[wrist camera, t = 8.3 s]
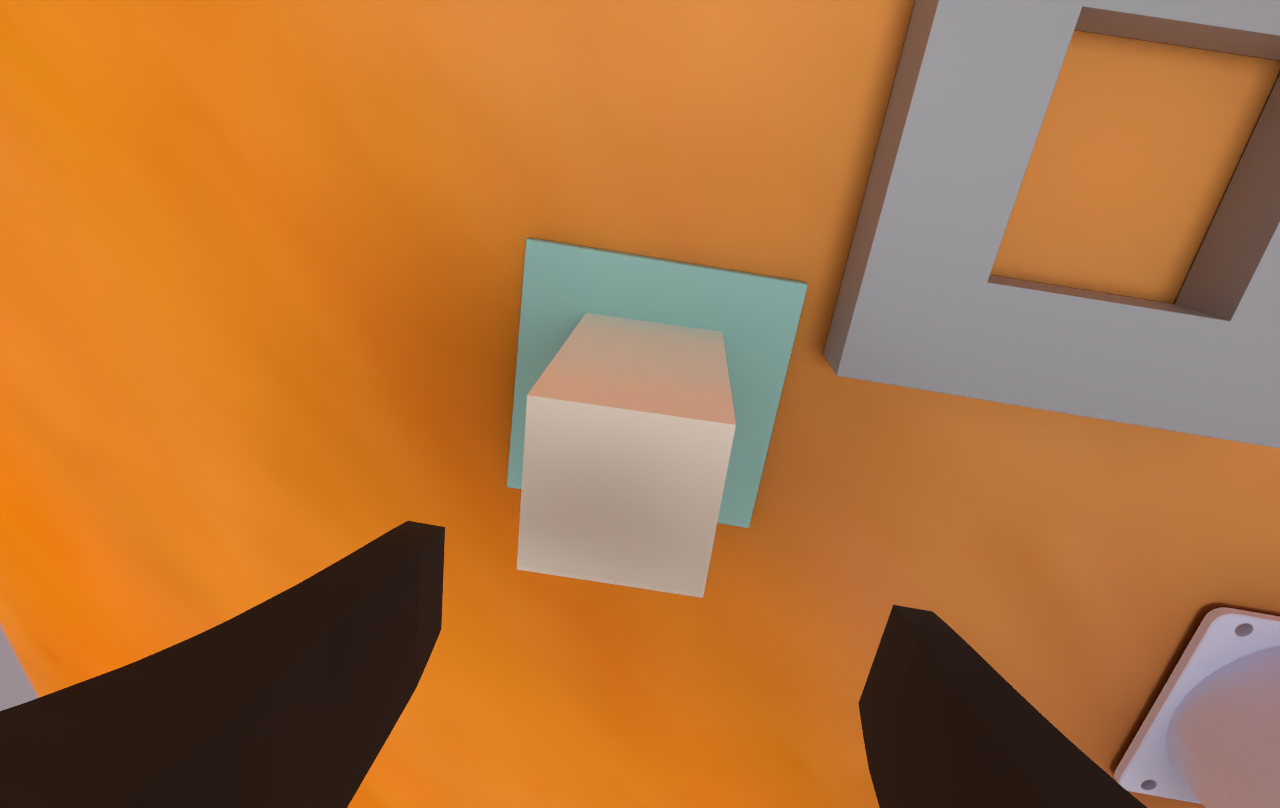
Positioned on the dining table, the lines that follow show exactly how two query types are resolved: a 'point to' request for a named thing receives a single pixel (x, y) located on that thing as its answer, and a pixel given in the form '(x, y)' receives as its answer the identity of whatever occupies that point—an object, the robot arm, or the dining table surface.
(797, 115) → the dining table surface
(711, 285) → the pad
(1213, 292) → the pocket board
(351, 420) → the dining table surface
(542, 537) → the block
